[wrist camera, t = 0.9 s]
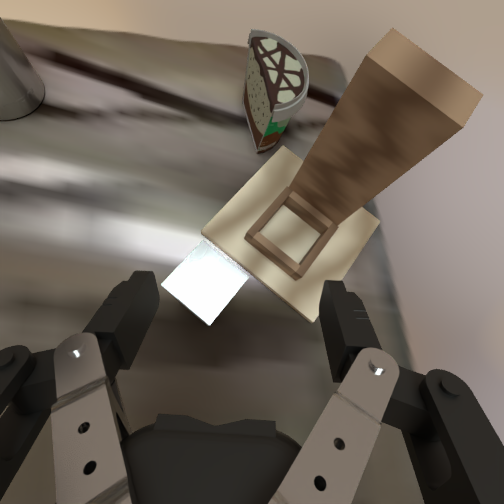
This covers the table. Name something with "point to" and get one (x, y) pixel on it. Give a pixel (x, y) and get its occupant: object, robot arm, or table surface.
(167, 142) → the table surface
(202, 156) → the table surface
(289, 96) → the food container
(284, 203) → the wooden backboard stand
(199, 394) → the table surface
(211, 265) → the grey rectangular block
